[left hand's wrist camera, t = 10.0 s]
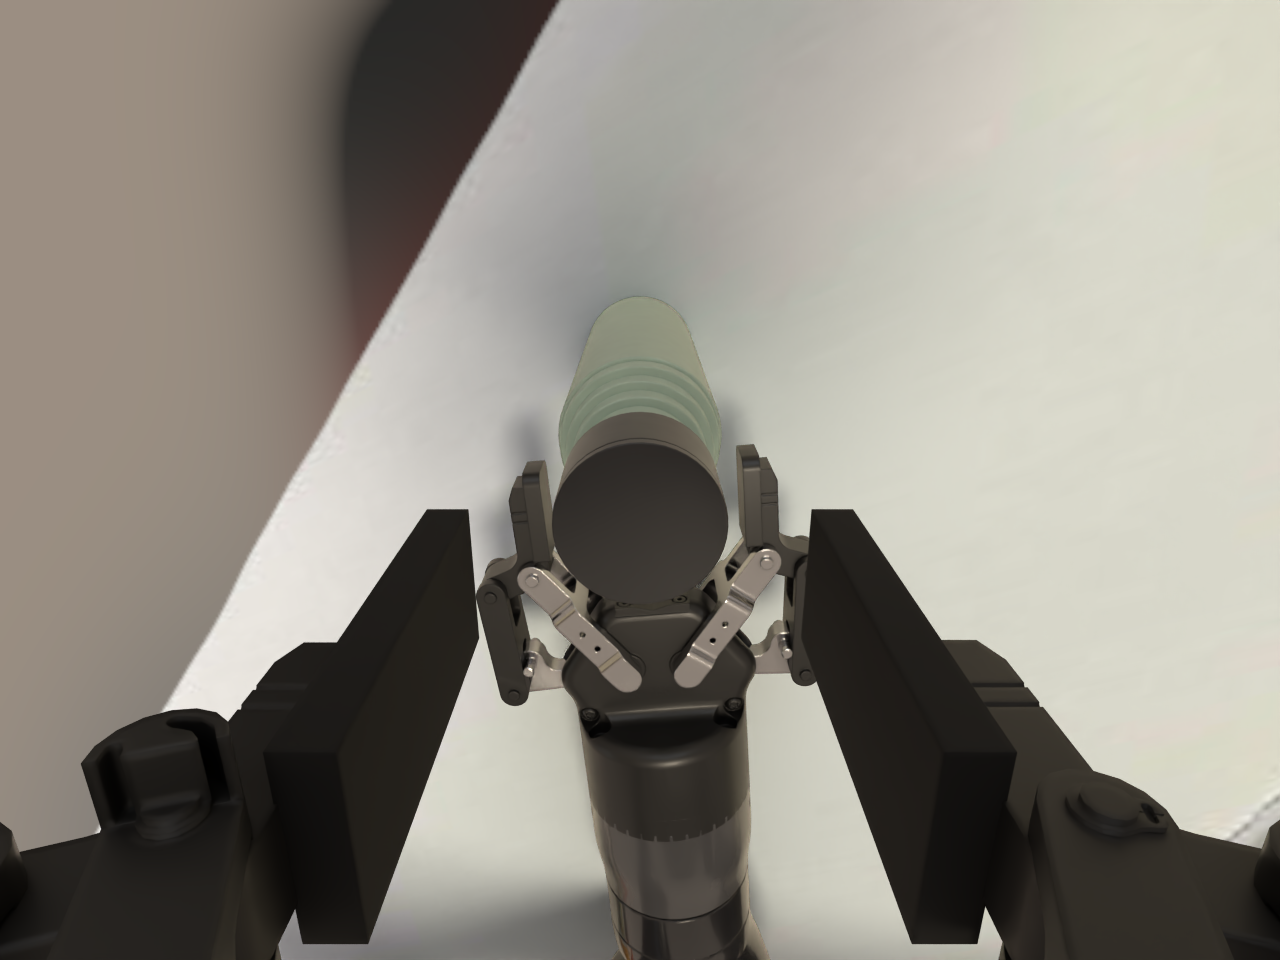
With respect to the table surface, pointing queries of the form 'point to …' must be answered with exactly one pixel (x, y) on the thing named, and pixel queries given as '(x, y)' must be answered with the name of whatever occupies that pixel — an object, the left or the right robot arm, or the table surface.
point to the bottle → (639, 374)
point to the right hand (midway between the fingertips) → (639, 458)
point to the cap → (639, 509)
